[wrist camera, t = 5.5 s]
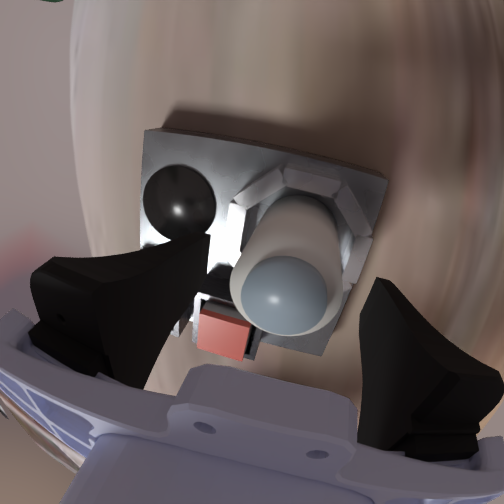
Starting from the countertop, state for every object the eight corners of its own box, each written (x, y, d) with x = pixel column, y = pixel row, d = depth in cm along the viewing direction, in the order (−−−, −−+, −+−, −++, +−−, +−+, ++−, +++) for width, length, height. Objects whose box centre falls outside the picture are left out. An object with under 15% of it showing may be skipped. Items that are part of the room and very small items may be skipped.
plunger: (250, 336, 20) (241, 361, 18) (209, 323, 20) (196, 347, 18) (258, 302, 19) (249, 328, 16) (213, 290, 19) (199, 313, 17)
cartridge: (325, 275, 17) (322, 355, 12) (253, 257, 18) (219, 329, 12) (347, 206, 15) (360, 265, 9) (267, 186, 16) (233, 233, 10)
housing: (322, 338, 22) (319, 376, 18) (150, 289, 24) (125, 317, 20) (381, 173, 16) (397, 189, 12) (155, 127, 17) (119, 133, 14)
